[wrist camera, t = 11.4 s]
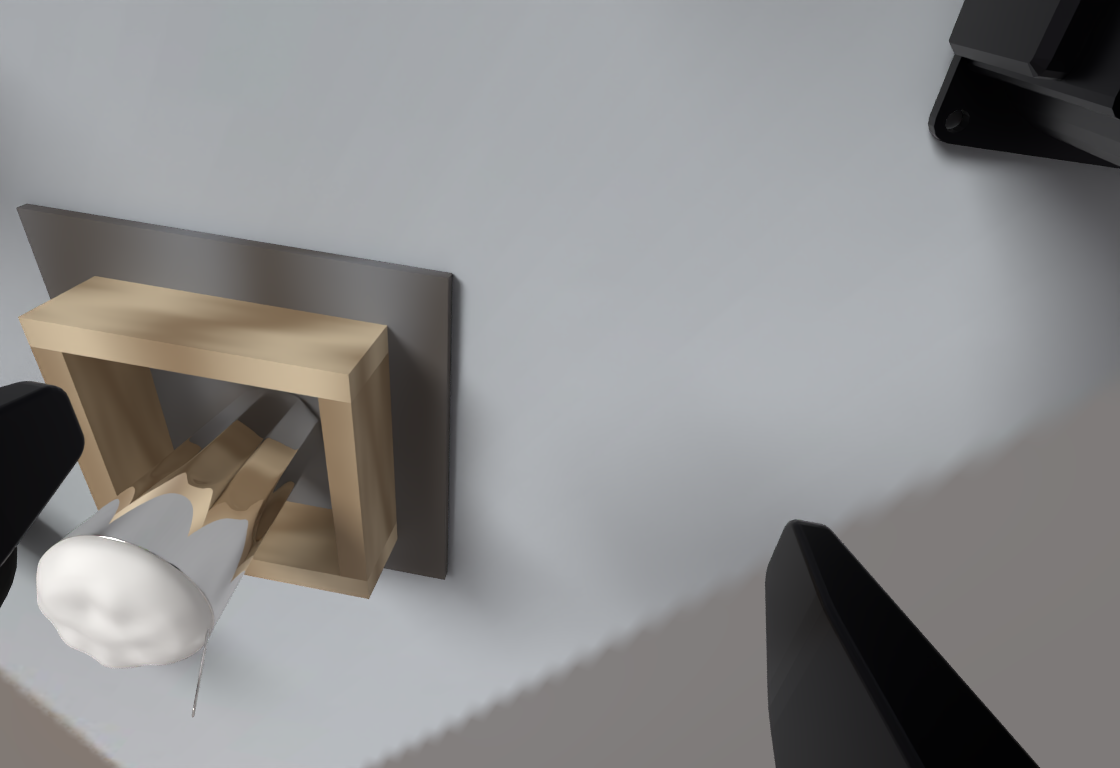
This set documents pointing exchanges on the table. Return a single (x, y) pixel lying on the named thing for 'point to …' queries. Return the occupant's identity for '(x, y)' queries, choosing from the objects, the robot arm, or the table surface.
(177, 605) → the milkshake
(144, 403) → the wooden frame tray
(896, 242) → the table surface
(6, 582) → the controller
